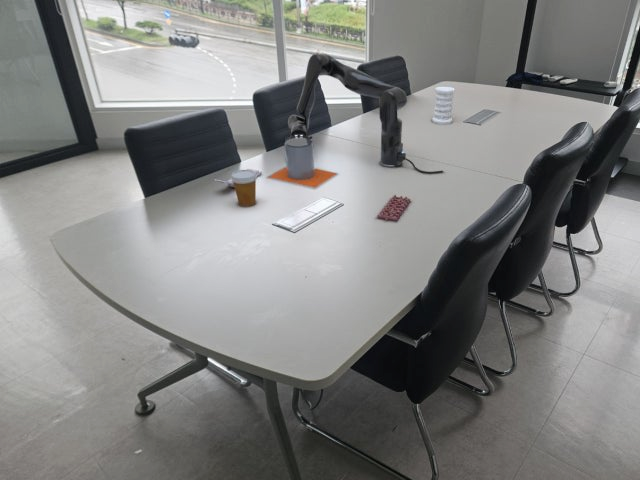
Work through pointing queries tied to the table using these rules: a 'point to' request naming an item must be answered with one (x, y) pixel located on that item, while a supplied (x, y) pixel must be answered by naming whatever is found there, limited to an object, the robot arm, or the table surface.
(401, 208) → the red flat knobbed bar
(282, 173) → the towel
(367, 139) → the table surface
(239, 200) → the disposable coffee cup
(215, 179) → the grey white handled utensil
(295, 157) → the crock
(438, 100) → the decorative container
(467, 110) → the table surface
